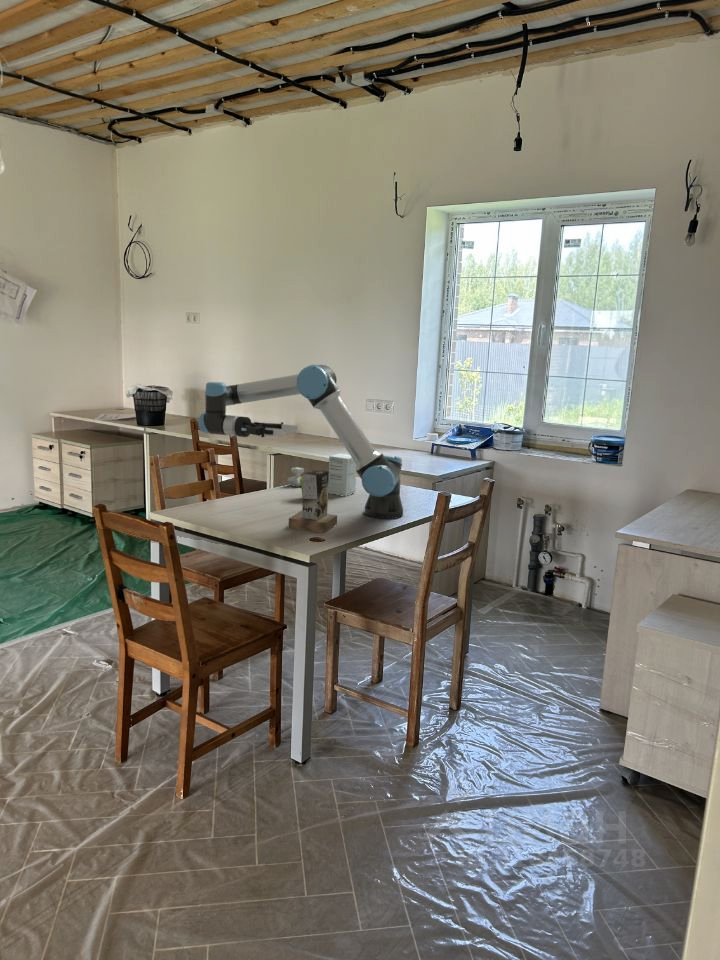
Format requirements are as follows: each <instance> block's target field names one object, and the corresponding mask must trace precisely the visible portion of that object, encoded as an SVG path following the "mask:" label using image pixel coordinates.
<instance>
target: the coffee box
mask: <svg viewBox="0 0 720 960" xmlns="http://www.w3.org/2000/svg"><path fill="white" fill-rule="evenodd" d="M302 477H303V498H302V502H301V503H302V505H301V507H302V509H301V511H302V518H305V519H312V520H319V519H321V518H322V517H324V516H326V515H327V514H328V505H329V502H328V501H329V494H328V482H329V470H319V469H312V470H309V471H307V472H303V476H302Z"/></svg>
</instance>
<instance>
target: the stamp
mask: <svg viewBox="0 0 720 960" xmlns="http://www.w3.org/2000/svg"><path fill="white" fill-rule="evenodd" d="M304 471H305V468H303V467H297V466H296V467H292V468H291V473H293V474H294V476H291V477H290V476H289V477H288V478H287V479H286V480H287V483H288V484H289V485H290V486H291V485H294V486H293V487H295V486H301V483H300V480H299V478H301V477H302V476H301V474H304Z"/></svg>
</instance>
